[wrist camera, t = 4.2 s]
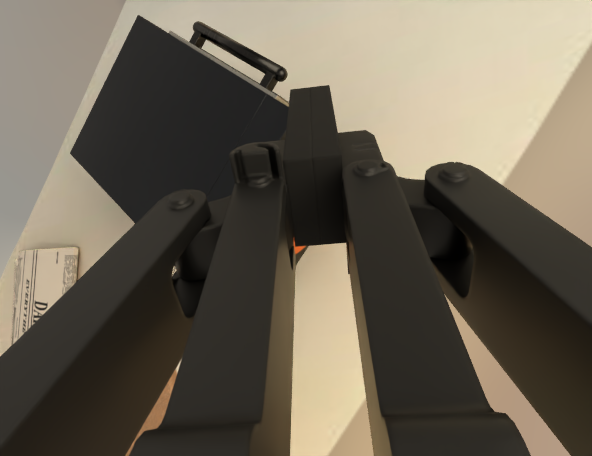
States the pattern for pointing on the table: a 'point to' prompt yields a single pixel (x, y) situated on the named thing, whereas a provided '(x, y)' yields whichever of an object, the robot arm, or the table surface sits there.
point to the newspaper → (40, 283)
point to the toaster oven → (177, 117)
